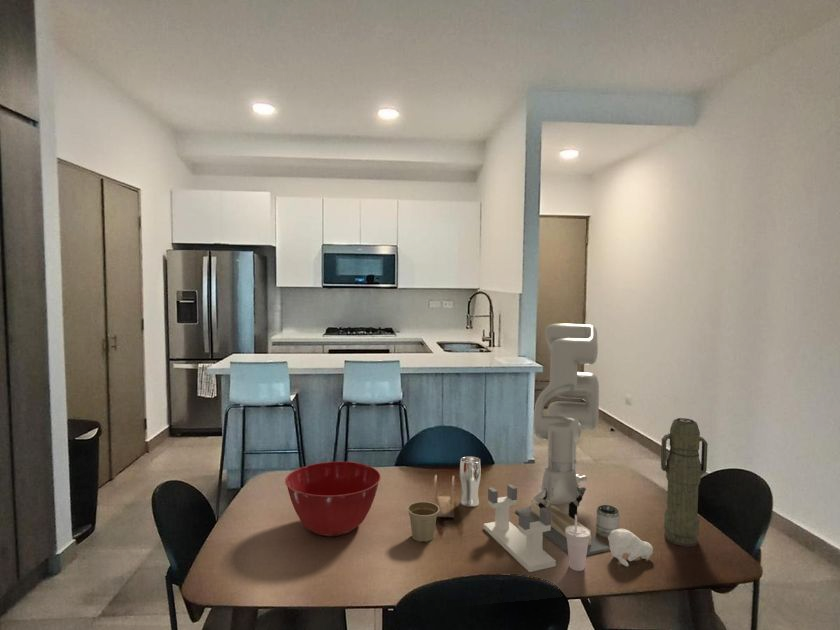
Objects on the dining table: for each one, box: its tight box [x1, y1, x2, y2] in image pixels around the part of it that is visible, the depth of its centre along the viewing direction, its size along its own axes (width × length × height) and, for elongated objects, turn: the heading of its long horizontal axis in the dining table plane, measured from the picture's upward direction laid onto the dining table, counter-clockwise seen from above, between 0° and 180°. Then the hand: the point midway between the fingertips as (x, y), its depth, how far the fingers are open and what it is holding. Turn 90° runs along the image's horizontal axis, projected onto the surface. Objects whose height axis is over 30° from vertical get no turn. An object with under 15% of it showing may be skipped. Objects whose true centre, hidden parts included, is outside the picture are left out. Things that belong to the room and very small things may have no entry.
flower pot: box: [406, 501, 440, 543], centre depth 149 cm, size 9×9×9 cm
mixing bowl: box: [284, 461, 382, 537], centre depth 156 cm, size 28×28×15 cm
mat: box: [515, 506, 610, 557], centre depth 154 cm, size 12×30×1 cm, turn 21°
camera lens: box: [595, 504, 620, 539], centre depth 152 cm, size 6×6×8 cm
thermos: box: [660, 417, 708, 547], centre depth 148 cm, size 9×12×35 cm
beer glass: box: [459, 455, 482, 508], centre depth 172 cm, size 7×7×15 cm
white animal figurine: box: [607, 528, 654, 567], centre depth 137 cm, size 6×8×12 cm
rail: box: [530, 498, 592, 546], centre depth 154 cm, size 4×24×4 cm, turn 21°
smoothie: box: [565, 514, 591, 572], centre depth 133 cm, size 6×6×14 cm
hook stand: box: [483, 483, 557, 573], centre depth 144 cm, size 8×25×14 cm, turn 21°
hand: (559, 520), depth 154 cm, fingers open, 9 cm apart
